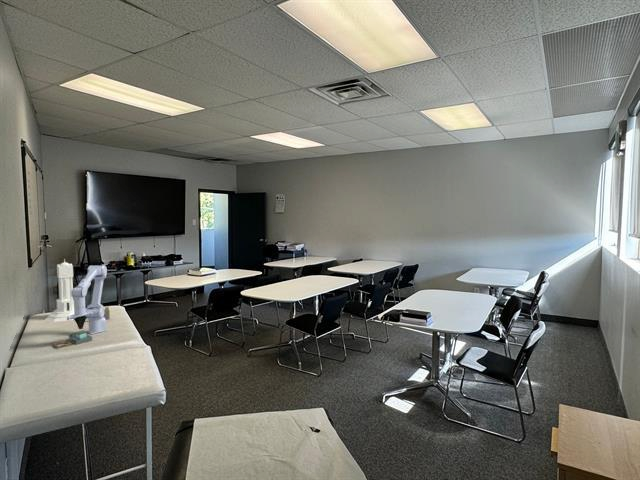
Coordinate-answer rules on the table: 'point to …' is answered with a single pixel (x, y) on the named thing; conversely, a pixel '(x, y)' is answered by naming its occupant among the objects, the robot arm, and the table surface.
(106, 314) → the ruin model on sheet
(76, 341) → the port
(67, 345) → the brown square frame
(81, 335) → the plug
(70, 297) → the white castle tower
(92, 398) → the table surface
